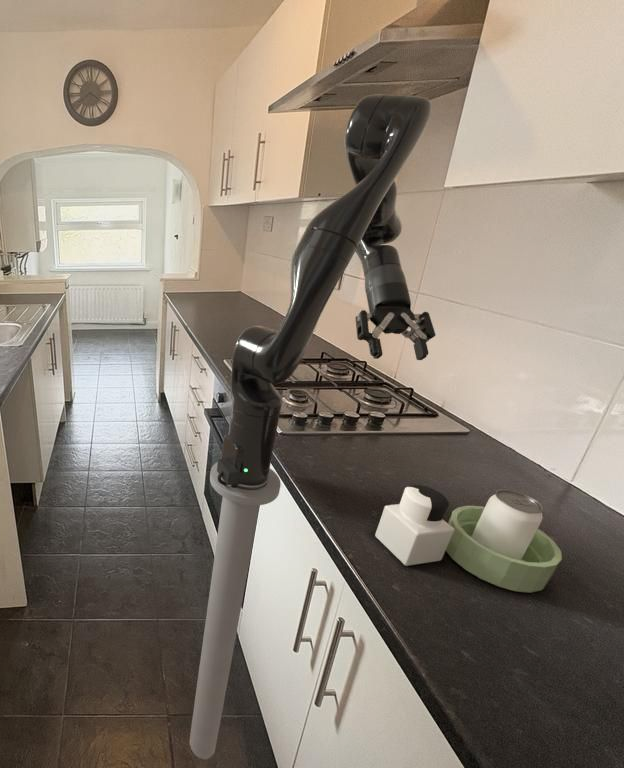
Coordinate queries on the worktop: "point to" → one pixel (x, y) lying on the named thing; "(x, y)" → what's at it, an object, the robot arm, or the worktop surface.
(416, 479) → the worktop surface
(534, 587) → the shallow round dish
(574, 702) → the worktop surface
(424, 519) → the medicine bottle
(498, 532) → the can
